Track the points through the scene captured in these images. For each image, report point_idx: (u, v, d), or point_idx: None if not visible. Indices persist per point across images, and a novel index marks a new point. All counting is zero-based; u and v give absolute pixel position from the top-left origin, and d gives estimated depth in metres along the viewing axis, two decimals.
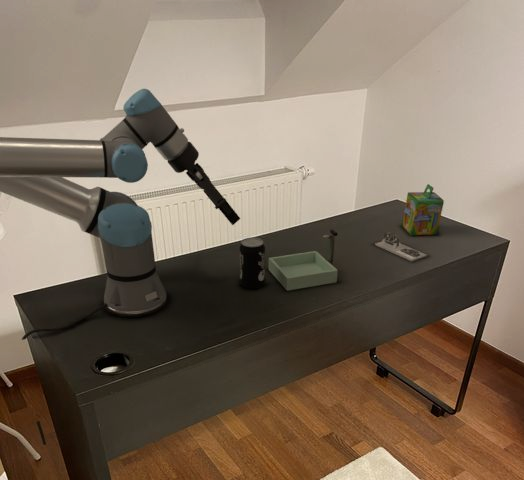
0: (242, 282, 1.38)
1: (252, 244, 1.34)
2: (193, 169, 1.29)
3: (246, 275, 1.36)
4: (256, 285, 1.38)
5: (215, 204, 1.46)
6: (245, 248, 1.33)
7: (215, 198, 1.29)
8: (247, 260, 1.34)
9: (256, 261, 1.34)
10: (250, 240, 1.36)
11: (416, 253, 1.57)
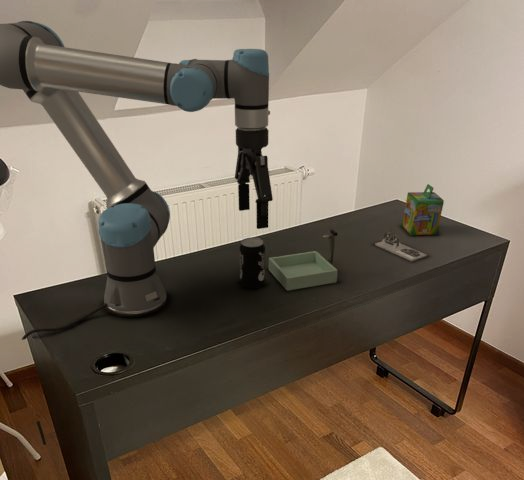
0: (242, 282, 1.38)
1: (252, 244, 1.34)
2: (257, 153, 1.19)
3: (246, 275, 1.36)
4: (256, 285, 1.38)
5: (240, 205, 1.34)
6: (245, 248, 1.33)
7: (264, 191, 1.18)
8: (247, 260, 1.34)
9: (256, 261, 1.34)
10: (250, 240, 1.36)
11: (416, 253, 1.57)
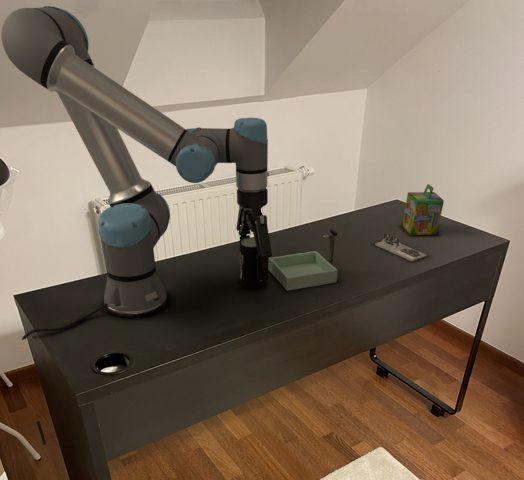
0: (242, 282, 1.38)
1: (252, 244, 1.34)
2: (257, 212, 1.26)
3: (246, 275, 1.36)
4: (256, 285, 1.38)
5: None
6: (245, 248, 1.33)
7: (264, 248, 1.26)
8: (247, 260, 1.34)
9: (256, 261, 1.34)
10: (250, 240, 1.36)
11: (416, 253, 1.57)
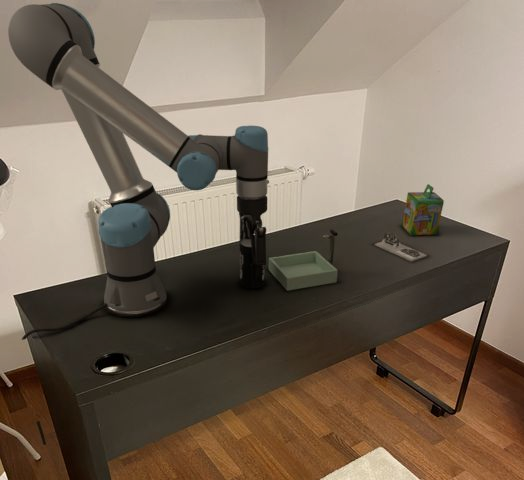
0: (242, 282, 1.39)
1: None
2: (257, 219, 1.27)
3: (246, 275, 1.36)
4: None
5: None
6: (245, 248, 1.33)
7: (259, 257, 1.30)
8: (247, 260, 1.34)
9: None
10: (250, 240, 1.36)
11: (416, 254, 1.57)
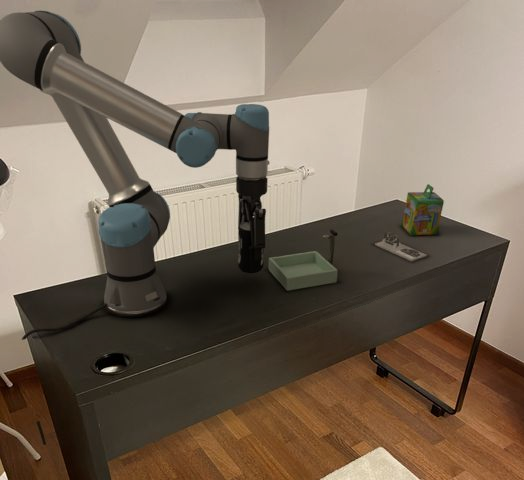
0: (240, 267, 1.36)
1: None
2: (256, 200, 1.25)
3: (245, 260, 1.34)
4: None
5: None
6: (244, 232, 1.30)
7: (258, 240, 1.27)
8: (245, 244, 1.31)
9: None
10: (249, 224, 1.33)
11: (416, 253, 1.57)
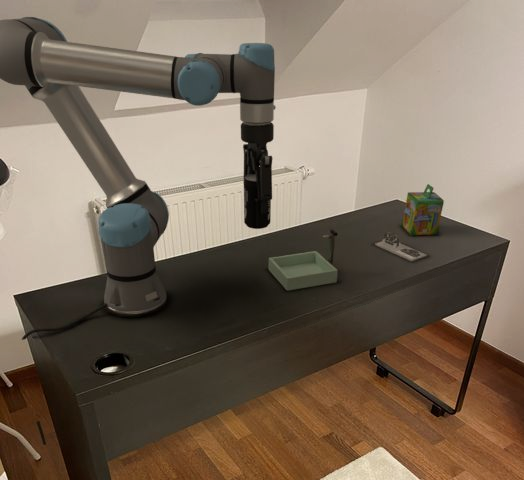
0: (246, 222, 1.30)
1: None
2: (262, 147, 1.18)
3: (251, 214, 1.27)
4: None
5: None
6: (250, 183, 1.24)
7: (265, 190, 1.21)
8: (251, 196, 1.25)
9: None
10: (255, 176, 1.27)
11: (416, 253, 1.57)
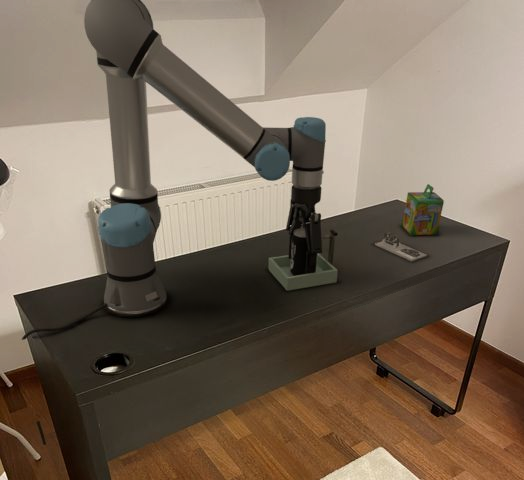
0: (293, 272, 1.42)
1: (304, 235, 1.37)
2: (311, 208, 1.31)
3: (298, 265, 1.40)
4: None
5: (290, 254, 1.46)
6: (298, 239, 1.36)
7: (315, 244, 1.31)
8: (299, 250, 1.38)
9: None
10: (302, 231, 1.39)
11: (416, 253, 1.57)
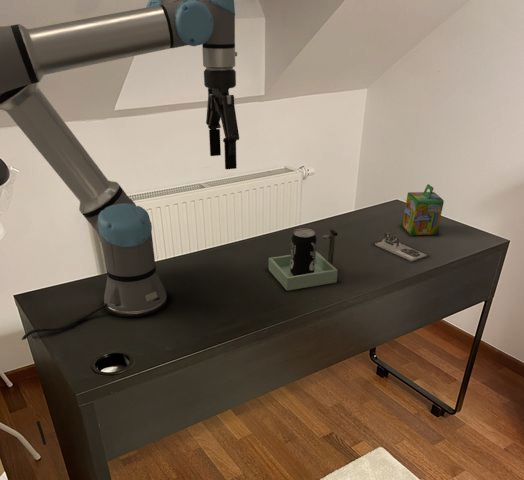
0: (293, 272, 1.42)
1: (304, 235, 1.37)
2: (224, 93, 1.23)
3: (298, 265, 1.40)
4: None
5: (211, 150, 1.39)
6: (298, 239, 1.36)
7: (231, 129, 1.22)
8: (299, 250, 1.38)
9: (309, 251, 1.38)
10: (302, 231, 1.39)
11: (416, 253, 1.57)
